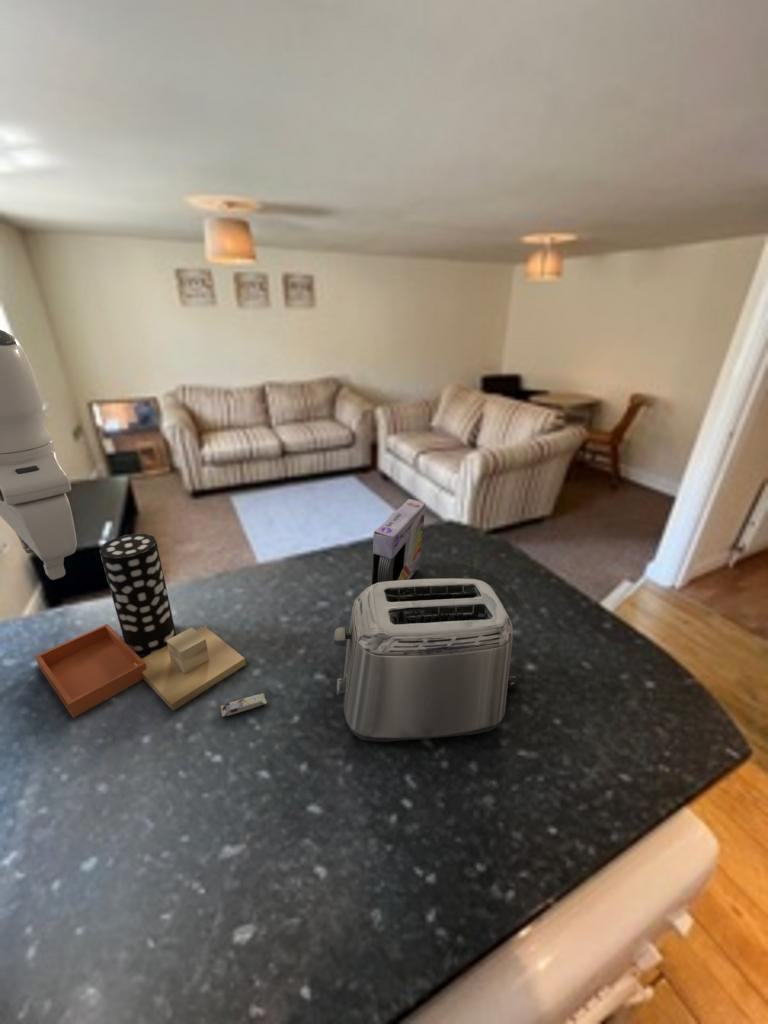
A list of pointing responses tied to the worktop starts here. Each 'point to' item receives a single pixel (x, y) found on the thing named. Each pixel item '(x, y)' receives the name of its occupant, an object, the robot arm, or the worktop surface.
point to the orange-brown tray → (90, 668)
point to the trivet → (191, 684)
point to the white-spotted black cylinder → (138, 591)
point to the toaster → (425, 660)
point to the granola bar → (243, 704)
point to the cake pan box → (398, 543)
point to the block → (188, 650)
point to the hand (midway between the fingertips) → (44, 562)
